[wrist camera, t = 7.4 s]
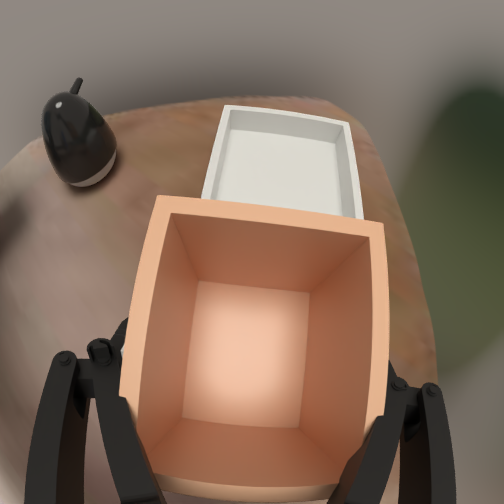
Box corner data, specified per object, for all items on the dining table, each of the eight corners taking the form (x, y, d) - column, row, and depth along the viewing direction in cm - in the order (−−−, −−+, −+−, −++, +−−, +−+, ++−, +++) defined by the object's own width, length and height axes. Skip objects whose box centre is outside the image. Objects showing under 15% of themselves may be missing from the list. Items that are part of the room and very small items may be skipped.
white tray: (202, 232, 33) (198, 211, 28) (225, 129, 40) (224, 104, 35) (348, 249, 33) (364, 231, 28) (339, 144, 40) (348, 122, 35)
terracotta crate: (172, 422, 17) (116, 477, 7) (191, 272, 21) (157, 195, 11) (305, 434, 17) (368, 492, 7) (317, 286, 22) (382, 223, 11)
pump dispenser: (135, 146, 38) (107, 67, 24) (105, 201, 34) (57, 124, 20) (87, 143, 38) (53, 76, 24) (57, 193, 34) (8, 129, 20)
